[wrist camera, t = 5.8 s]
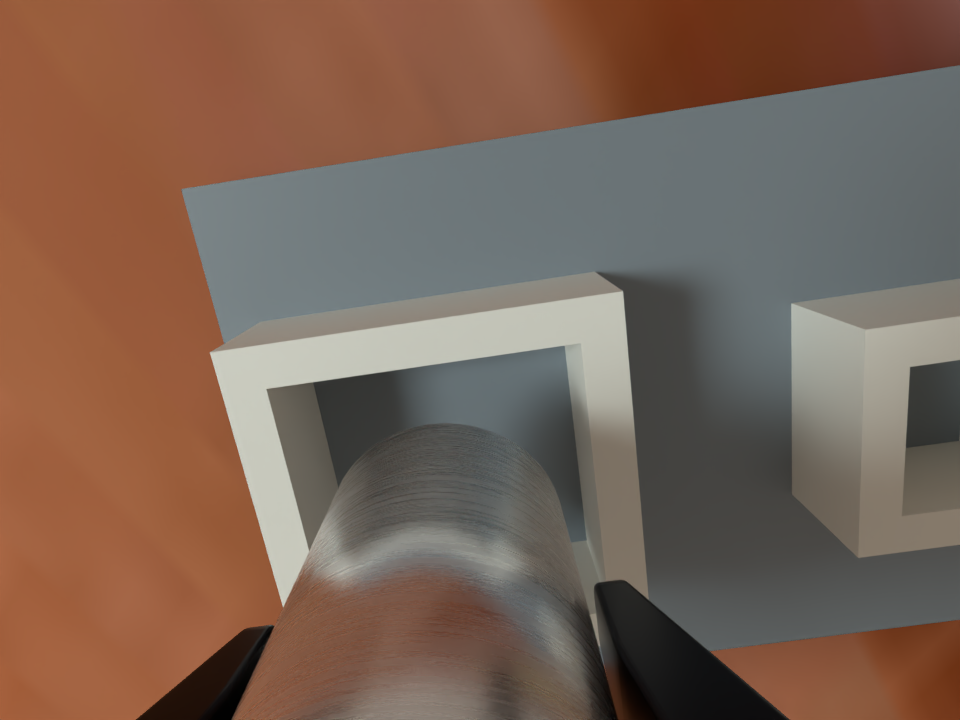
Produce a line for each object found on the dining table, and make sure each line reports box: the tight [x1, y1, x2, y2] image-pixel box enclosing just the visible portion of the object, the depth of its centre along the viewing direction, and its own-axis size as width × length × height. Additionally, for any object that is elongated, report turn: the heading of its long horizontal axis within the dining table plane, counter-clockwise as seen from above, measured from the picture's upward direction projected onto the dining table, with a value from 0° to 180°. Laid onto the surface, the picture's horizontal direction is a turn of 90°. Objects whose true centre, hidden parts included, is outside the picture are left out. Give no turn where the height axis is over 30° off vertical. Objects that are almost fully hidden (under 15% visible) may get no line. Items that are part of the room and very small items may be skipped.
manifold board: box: [181, 65, 960, 664], centre depth 13 cm, size 19×13×4 cm
